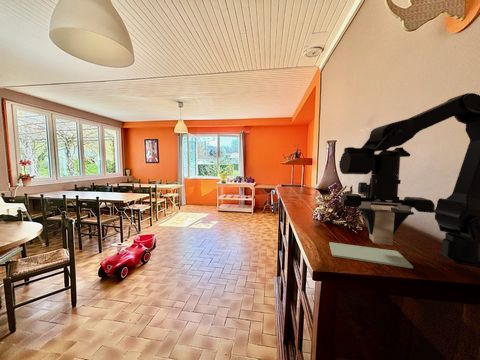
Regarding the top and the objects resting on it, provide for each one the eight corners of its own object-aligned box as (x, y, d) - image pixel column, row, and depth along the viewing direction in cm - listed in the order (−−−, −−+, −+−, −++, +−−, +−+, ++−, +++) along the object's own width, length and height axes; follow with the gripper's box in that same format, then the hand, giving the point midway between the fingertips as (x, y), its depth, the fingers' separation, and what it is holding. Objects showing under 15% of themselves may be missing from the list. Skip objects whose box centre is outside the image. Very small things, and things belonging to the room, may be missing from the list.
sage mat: (397, 252, 54) (397, 251, 54) (413, 268, 46) (413, 266, 46) (329, 243, 60) (329, 242, 60) (332, 256, 52) (332, 254, 52)
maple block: (386, 239, 53) (388, 209, 52) (392, 245, 49) (394, 213, 49) (369, 237, 54) (371, 208, 54) (373, 242, 51) (375, 211, 50)
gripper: (414, 174, 55) (410, 230, 56) (339, 173, 61) (337, 222, 62) (438, 176, 45) (433, 244, 46) (345, 174, 51) (342, 234, 52)
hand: (380, 235), depth 52 cm, fingers closed on maple block, 4 cm apart
